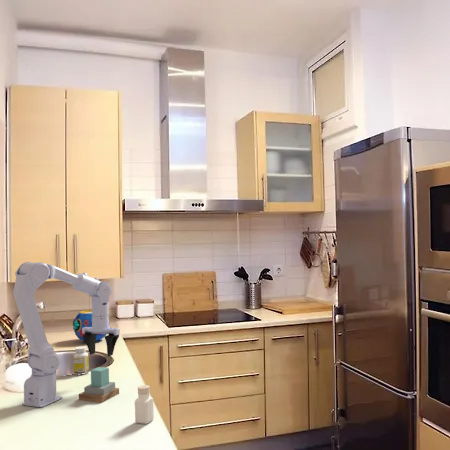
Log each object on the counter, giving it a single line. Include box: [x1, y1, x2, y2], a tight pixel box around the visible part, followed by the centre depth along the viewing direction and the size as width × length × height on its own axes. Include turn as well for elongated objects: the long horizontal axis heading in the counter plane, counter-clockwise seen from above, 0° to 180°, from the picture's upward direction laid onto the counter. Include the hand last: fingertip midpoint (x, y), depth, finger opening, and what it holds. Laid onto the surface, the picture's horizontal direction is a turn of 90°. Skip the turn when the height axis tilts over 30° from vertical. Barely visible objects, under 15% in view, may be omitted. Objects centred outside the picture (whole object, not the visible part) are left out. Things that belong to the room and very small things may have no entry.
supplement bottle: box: [73, 346, 90, 376], centre depth 185 cm, size 5×5×10 cm
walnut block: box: [78, 387, 120, 404], centre depth 156 cm, size 9×9×2 cm
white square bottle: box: [134, 384, 155, 425], centre depth 134 cm, size 4×4×10 cm
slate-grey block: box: [83, 381, 116, 395], centre depth 157 cm, size 7×7×2 cm
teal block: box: [90, 366, 110, 387], centre depth 157 cm, size 4×4×5 cm
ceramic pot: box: [72, 309, 107, 342], centre depth 246 cm, size 18×18×15 cm
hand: (101, 354), depth 170 cm, fingers open, 7 cm apart
